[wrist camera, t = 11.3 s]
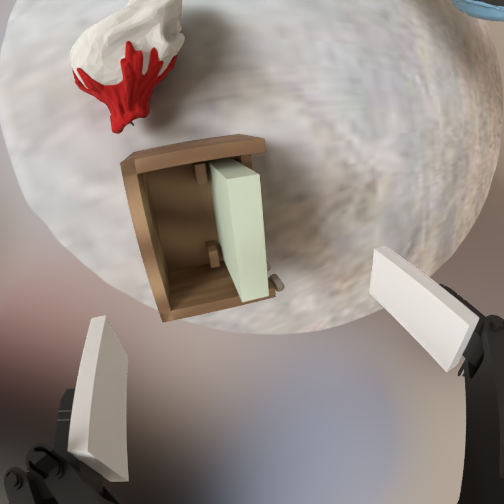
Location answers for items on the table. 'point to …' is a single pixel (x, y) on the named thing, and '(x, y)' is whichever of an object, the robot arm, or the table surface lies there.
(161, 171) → the cabinet
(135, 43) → the white and red lump
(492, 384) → the robot arm
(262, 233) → the door
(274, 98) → the table surface
